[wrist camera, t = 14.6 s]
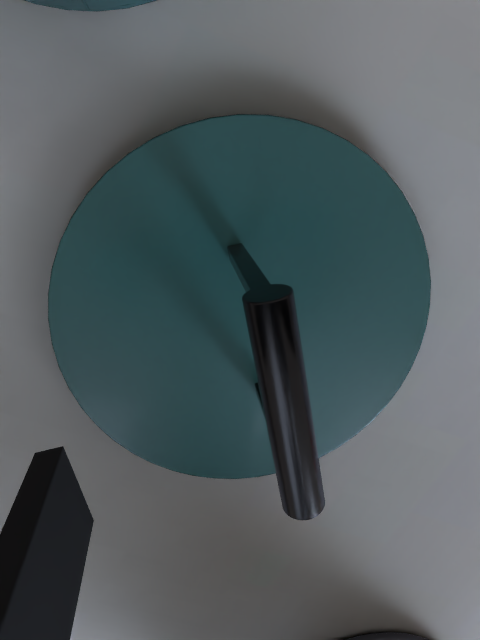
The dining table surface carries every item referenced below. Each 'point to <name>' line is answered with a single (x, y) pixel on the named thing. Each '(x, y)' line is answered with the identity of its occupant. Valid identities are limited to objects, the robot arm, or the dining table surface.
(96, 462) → the dining table surface
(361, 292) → the lid
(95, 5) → the pot
